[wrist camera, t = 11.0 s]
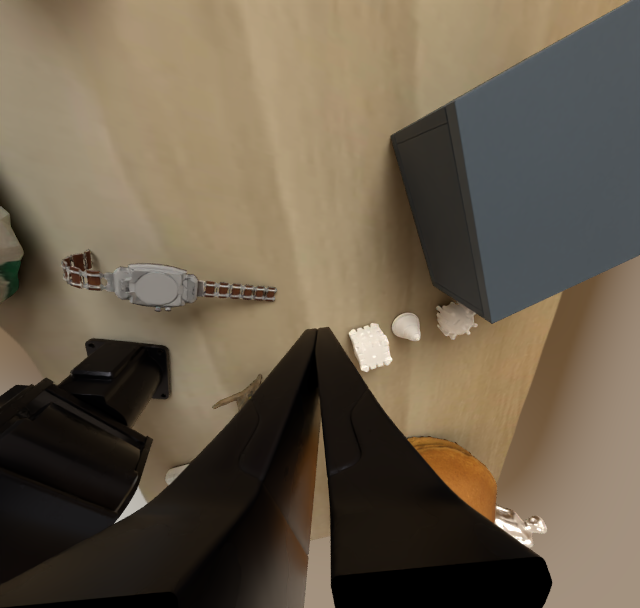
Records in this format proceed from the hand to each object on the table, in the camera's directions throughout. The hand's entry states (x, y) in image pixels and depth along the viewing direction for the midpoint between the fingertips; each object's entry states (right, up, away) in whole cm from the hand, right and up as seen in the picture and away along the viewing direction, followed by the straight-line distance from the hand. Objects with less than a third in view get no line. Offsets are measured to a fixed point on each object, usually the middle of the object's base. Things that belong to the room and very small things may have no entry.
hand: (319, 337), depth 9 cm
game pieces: (+9, -1, +16) cm, 19 cm away
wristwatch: (-11, +3, +11) cm, 16 cm away
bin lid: (+14, +8, +5) cm, 17 cm away
